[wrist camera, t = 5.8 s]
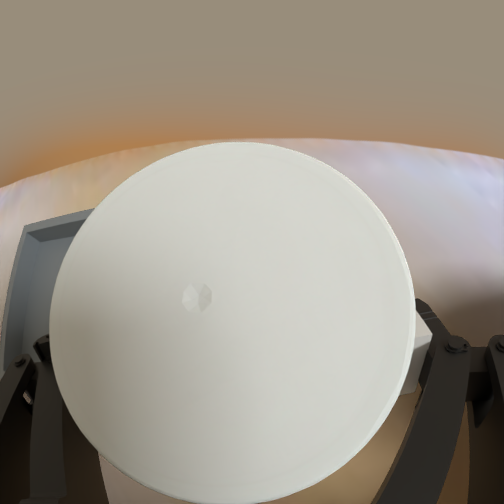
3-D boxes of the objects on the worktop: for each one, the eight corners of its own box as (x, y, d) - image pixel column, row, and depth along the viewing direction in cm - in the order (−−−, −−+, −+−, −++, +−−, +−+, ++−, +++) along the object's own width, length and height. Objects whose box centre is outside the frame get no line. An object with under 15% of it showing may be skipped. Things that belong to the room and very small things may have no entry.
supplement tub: (315, 434, 16) (351, 555, 3) (185, 398, 18) (14, 405, 5) (348, 302, 20) (426, 162, 6) (223, 276, 22) (125, 132, 9)
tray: (161, 218, 25) (145, 197, 22) (149, 416, 18) (126, 420, 15) (42, 238, 27) (24, 225, 24) (21, 382, 20) (-2, 378, 17)
